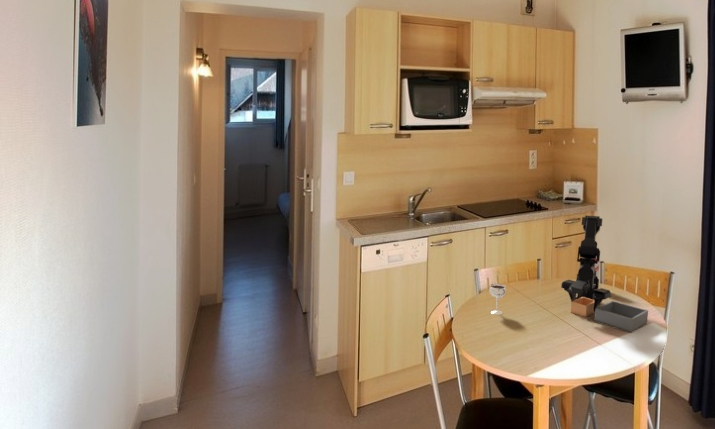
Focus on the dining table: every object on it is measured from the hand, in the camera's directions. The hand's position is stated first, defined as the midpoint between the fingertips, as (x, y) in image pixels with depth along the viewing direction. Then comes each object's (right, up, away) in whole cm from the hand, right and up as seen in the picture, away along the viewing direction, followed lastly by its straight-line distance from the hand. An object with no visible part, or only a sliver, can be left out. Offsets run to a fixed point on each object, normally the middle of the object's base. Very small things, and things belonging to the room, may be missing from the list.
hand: (583, 308), depth 195 cm
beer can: (+17, +4, +29) cm, 34 cm away
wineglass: (-37, -2, +2) cm, 37 cm away
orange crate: (0, -2, 0) cm, 2 cm away
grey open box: (+10, -4, -10) cm, 15 cm away
